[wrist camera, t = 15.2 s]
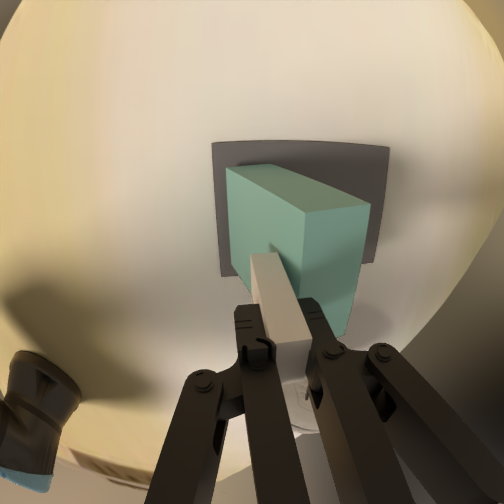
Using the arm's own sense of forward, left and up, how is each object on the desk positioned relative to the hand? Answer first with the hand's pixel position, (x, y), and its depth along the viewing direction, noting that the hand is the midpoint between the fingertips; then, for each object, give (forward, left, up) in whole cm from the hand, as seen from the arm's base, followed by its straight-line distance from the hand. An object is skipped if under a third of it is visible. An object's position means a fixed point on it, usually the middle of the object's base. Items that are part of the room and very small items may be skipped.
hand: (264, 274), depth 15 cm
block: (0, 0, -10) cm, 10 cm away
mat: (+6, 0, -11) cm, 12 cm away
